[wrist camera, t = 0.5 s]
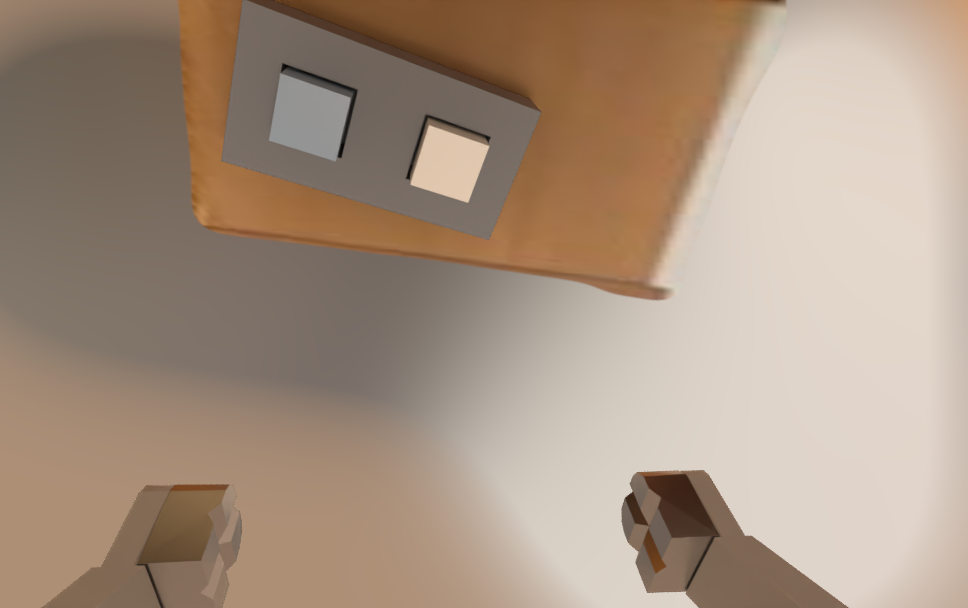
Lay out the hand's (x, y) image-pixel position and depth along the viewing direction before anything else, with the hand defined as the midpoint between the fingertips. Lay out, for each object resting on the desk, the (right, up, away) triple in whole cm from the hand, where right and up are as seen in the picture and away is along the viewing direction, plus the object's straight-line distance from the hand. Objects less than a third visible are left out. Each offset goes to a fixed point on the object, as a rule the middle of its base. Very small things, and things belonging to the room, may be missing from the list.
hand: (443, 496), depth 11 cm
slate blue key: (-13, +19, +32) cm, 39 cm away
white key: (-2, +17, +35) cm, 38 cm away
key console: (-8, +20, +36) cm, 42 cm away
